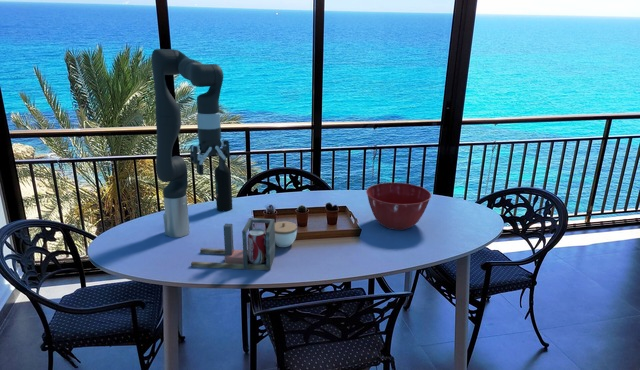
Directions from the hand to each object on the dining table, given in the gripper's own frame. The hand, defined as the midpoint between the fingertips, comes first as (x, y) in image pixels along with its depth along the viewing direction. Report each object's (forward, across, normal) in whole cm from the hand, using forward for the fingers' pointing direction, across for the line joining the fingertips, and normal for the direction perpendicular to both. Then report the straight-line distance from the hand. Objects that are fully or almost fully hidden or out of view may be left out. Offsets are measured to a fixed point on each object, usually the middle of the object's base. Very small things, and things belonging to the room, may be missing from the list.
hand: (211, 172), depth 155 cm
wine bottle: (+37, -35, -43) cm, 66 cm away
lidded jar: (+36, -28, +6) cm, 46 cm away
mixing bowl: (+35, -78, +27) cm, 90 cm away
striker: (+35, -6, +4) cm, 36 cm away
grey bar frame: (+35, -6, +4) cm, 36 cm away
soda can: (+35, -12, +10) cm, 39 cm away
